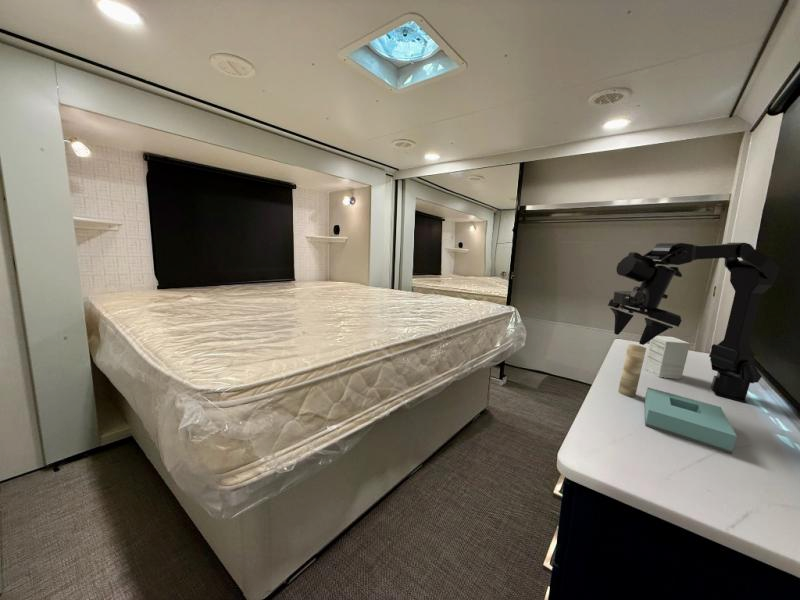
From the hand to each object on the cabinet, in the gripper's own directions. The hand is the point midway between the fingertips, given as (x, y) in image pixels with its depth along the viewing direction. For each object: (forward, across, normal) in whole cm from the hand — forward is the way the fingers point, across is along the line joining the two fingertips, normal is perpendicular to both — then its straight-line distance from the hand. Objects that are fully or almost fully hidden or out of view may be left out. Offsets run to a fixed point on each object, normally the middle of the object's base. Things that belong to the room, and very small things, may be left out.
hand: (628, 339), depth 87 cm
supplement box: (+8, -14, +30) cm, 34 cm away
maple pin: (+15, +2, +5) cm, 16 cm away
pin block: (+14, +17, +7) cm, 23 cm away
